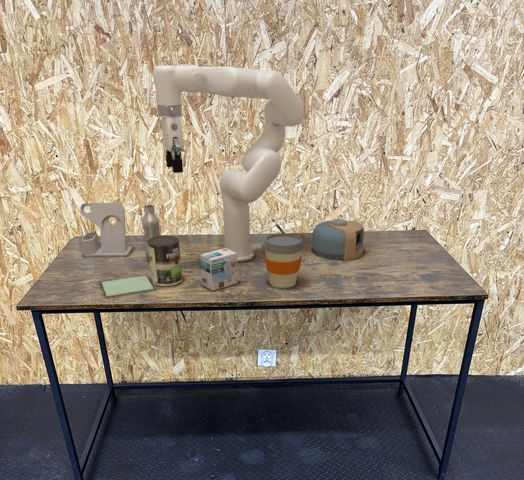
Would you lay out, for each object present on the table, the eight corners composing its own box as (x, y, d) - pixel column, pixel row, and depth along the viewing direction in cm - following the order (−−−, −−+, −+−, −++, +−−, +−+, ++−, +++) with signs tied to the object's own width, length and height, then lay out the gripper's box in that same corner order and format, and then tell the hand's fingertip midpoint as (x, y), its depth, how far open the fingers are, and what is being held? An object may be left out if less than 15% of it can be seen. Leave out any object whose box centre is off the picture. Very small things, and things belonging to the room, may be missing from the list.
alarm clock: (354, 263, 183) (357, 231, 177) (304, 254, 191) (305, 223, 185) (368, 247, 198) (371, 217, 192) (321, 240, 206) (323, 211, 200)
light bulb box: (212, 291, 161) (210, 259, 156) (201, 285, 166) (199, 254, 160) (238, 283, 167) (237, 252, 162) (226, 277, 172) (225, 247, 166)
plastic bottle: (147, 264, 182) (140, 209, 172) (145, 257, 188) (139, 204, 178) (164, 262, 184) (159, 208, 173) (162, 256, 189) (157, 203, 179)
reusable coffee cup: (261, 289, 163) (261, 244, 155) (266, 274, 174) (266, 232, 166) (299, 291, 162) (301, 246, 154) (302, 276, 172) (304, 234, 165)
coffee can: (188, 278, 170) (185, 238, 163) (168, 288, 163) (164, 247, 156) (165, 272, 175) (161, 233, 168) (145, 282, 168) (140, 241, 160)
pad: (146, 276, 172) (146, 275, 171) (153, 289, 162) (153, 288, 162) (101, 283, 167) (101, 282, 166) (106, 297, 157) (106, 295, 157)
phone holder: (81, 256, 189) (72, 209, 180) (89, 247, 197) (80, 202, 188) (127, 256, 189) (120, 209, 180) (132, 247, 198) (126, 201, 189)
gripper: (188, 113, 147) (192, 174, 156) (175, 108, 161) (180, 164, 169) (163, 114, 144) (168, 175, 153) (152, 109, 158) (158, 165, 167)
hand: (174, 169), depth 161 cm, fingers open, 9 cm apart
